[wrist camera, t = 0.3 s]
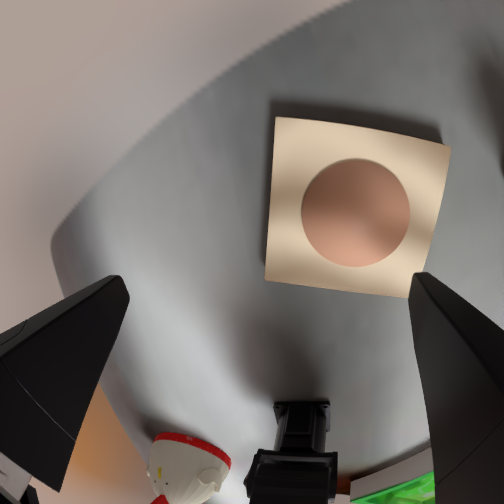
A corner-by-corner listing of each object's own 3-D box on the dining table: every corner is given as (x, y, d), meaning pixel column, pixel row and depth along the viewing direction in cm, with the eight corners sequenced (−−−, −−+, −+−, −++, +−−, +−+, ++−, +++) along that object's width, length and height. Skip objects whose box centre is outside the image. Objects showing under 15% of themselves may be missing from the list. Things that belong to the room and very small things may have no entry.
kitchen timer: (203, 432, 40) (172, 516, 27) (245, 469, 44) (225, 540, 31) (140, 430, 45) (107, 497, 31) (184, 466, 49) (161, 526, 36)
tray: (513, 445, 33) (518, 463, 29) (418, 494, 45) (419, 512, 40) (473, 418, 30) (480, 445, 26) (351, 479, 42) (349, 502, 38)
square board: (408, 288, 23) (413, 299, 22) (267, 270, 25) (263, 281, 23) (443, 144, 18) (452, 147, 16) (278, 116, 20) (275, 117, 18)
